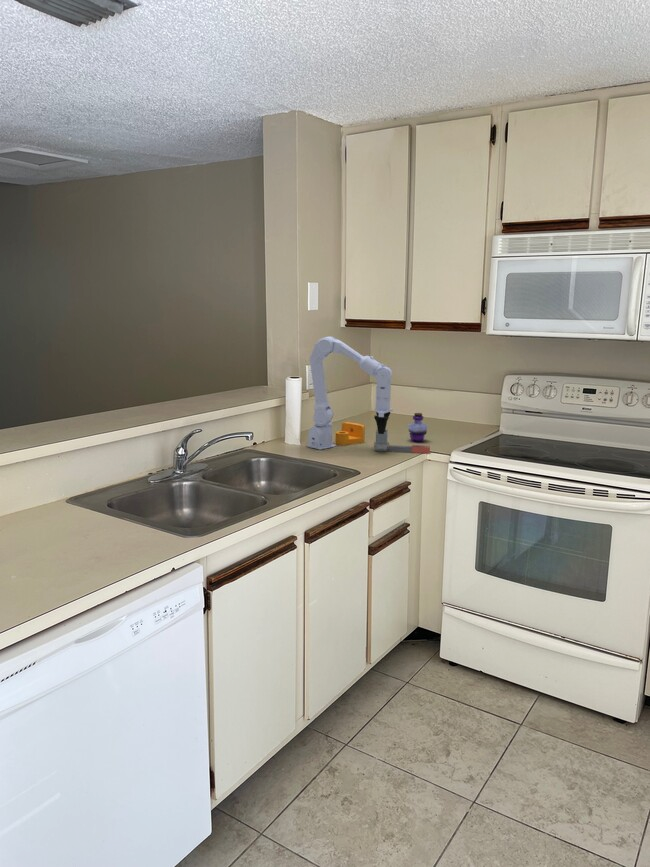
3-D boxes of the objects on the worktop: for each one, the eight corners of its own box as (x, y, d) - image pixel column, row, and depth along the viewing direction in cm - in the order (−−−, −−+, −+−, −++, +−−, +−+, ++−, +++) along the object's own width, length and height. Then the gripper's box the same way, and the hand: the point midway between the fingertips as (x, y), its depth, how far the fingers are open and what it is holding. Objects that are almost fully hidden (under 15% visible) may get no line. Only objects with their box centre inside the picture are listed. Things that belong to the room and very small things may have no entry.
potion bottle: (431, 441, 281) (432, 413, 279) (418, 444, 276) (419, 415, 273) (416, 437, 288) (417, 410, 285) (402, 440, 282) (403, 412, 279)
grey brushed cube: (375, 443, 262) (375, 431, 261) (376, 441, 267) (376, 429, 265) (386, 444, 262) (387, 432, 261) (387, 441, 266) (387, 429, 265)
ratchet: (373, 451, 262) (373, 438, 261) (374, 448, 268) (374, 434, 267) (429, 454, 259) (430, 440, 258) (429, 450, 265) (430, 437, 264)
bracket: (366, 424, 277) (348, 429, 268) (365, 441, 279) (348, 446, 270) (345, 421, 284) (328, 425, 275) (345, 438, 285) (327, 442, 276)
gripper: (392, 401, 253) (390, 436, 256) (394, 395, 267) (393, 428, 270) (373, 400, 254) (372, 435, 257) (376, 394, 268) (375, 427, 271)
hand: (381, 431), depth 263 cm, fingers open, 7 cm apart
